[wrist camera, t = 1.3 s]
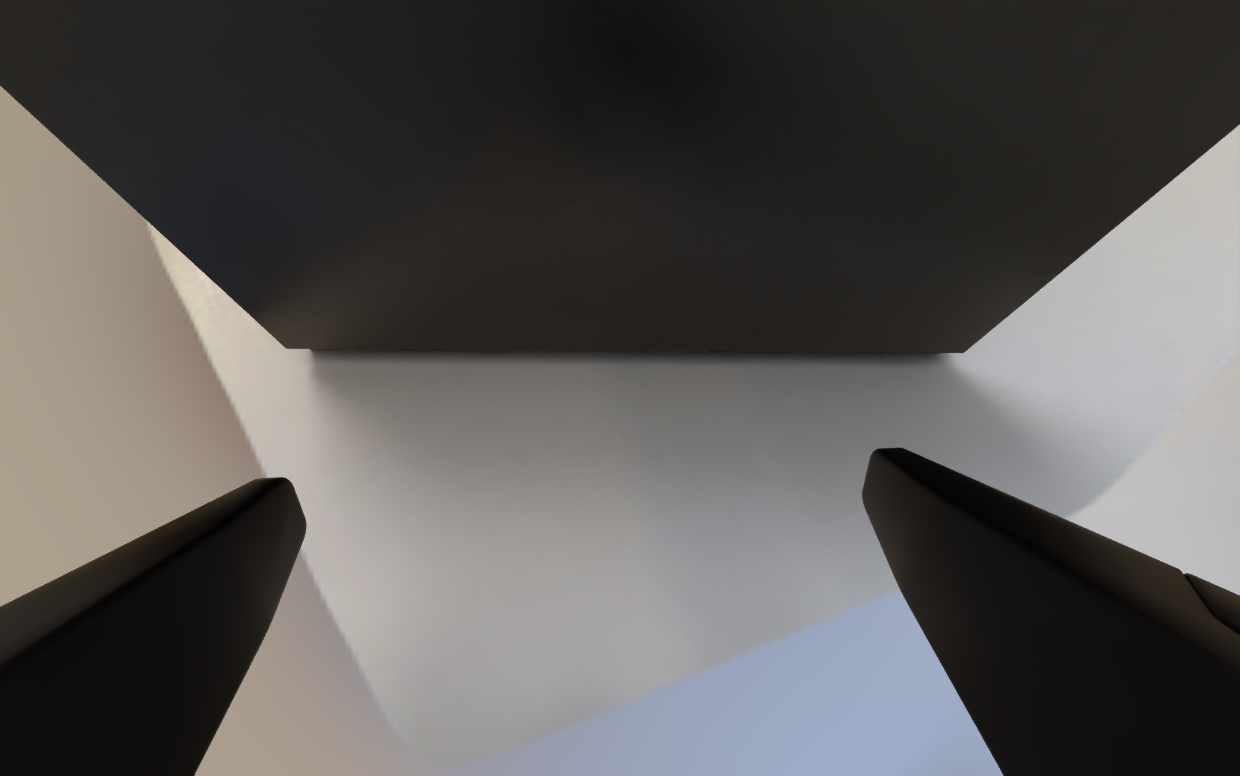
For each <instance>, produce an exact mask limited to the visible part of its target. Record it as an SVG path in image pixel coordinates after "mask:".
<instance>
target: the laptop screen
mask: <svg viewBox="0 0 1240 776" xmlns="http://www.w3.org/2000/svg"><path fill="white" fill-rule="evenodd" d="M0 86H1V87H2V88H3V89H5V90H6V91H7V92H8V93H9V94H10V95H11V96H12V97H13V98H14V99H15V100H17V101H18V102H19V103H20V104H21V105H22V106H23V107H24V108H25V109H26V110H27V111H29V112H30V113H31V114H32V115H33V116H34V117H35V118H36V119H37V120H38V121H39V122H40V123H42V124H43V125H44V126H45V127H46V128H47V129H48V130H49V131H50V132H52V133H53V134H54V135H55V136H56V137H57V138H58V139H59V140H60V141H61V142H62V143H63V144H64V145H66V146H67V147H68V148H69V149H70V150H71V151H72V152H73V153H74V154H75V155H77V157H79V158H80V159H81V160H82V161H83V162H84V163H85V164H86V165H87V166H88V167H89V168H90V169H92V170H93V171H94V172H95V173H96V174H97V175H98V176H99V177H100V178H101V179H102V180H104V181H105V182H106V183H107V184H108V185H109V186H110V187H111V188H112V189H113V190H114V191H115V192H117V193H118V194H119V195H120V196H121V197H122V198H123V199H124V200H125V201H126V202H127V203H129V204H130V205H131V206H132V207H133V208H134V209H135V210H136V211H137V212H138V213H139V214H140V215H142V216H143V217H144V218H145V219H146V220H147V221H148V222H149V223H150V224H151V225H152V226H154V227H155V228H156V229H157V230H158V231H159V232H160V233H161V234H162V235H163V236H164V237H165V238H167V239H168V240H169V241H170V242H171V243H172V244H173V245H174V246H175V247H176V248H177V249H179V250H180V251H181V252H182V253H183V254H184V255H185V256H186V257H187V258H188V259H189V260H191V261H192V262H193V263H194V264H195V265H196V266H197V267H198V268H199V269H200V270H201V271H202V272H204V273H205V274H206V275H207V276H208V277H209V278H210V279H211V280H212V281H213V282H214V283H216V284H217V285H218V286H219V287H220V288H221V289H222V290H223V291H224V292H225V293H226V294H227V295H229V296H230V297H231V298H232V299H233V300H234V301H235V302H236V303H237V304H238V305H239V306H241V307H242V308H243V309H244V310H245V311H246V312H247V313H248V314H249V315H250V316H251V317H252V318H254V319H255V320H256V321H257V322H258V323H259V324H260V325H261V326H262V327H263V328H264V329H266V330H267V331H268V332H269V333H270V334H271V335H272V336H273V337H274V338H275V339H276V340H278V341H279V342H280V343H281V344H282V345H283V346H284V347H285V348H287V349H418V350H575V351H731V352H887V353H964V352H965V351H967V350H968V349H969V348H970V347H971V346H973V345H974V344H975V343H976V342H977V341H979V340H980V339H981V338H982V337H984V336H985V335H986V334H987V333H988V332H990V331H991V330H992V329H993V328H994V327H996V326H997V325H998V324H999V323H1000V322H1002V321H1003V320H1004V319H1005V318H1006V317H1008V316H1009V315H1010V314H1011V313H1012V312H1014V311H1015V310H1016V309H1017V308H1019V307H1020V306H1021V305H1022V304H1023V303H1025V302H1026V301H1027V300H1028V299H1029V298H1031V297H1032V296H1033V295H1034V294H1035V293H1037V292H1038V291H1039V290H1040V289H1041V288H1043V287H1044V286H1045V285H1046V284H1047V283H1049V282H1050V281H1051V280H1052V279H1054V278H1055V277H1056V276H1057V275H1058V274H1060V273H1061V272H1062V271H1063V270H1064V269H1066V268H1067V267H1068V266H1069V265H1070V264H1072V263H1073V262H1074V261H1075V260H1076V259H1078V258H1079V257H1080V256H1081V255H1083V254H1084V253H1085V252H1086V251H1087V250H1089V249H1090V248H1091V247H1092V246H1093V245H1095V244H1096V243H1097V242H1098V241H1099V240H1101V239H1102V238H1103V237H1104V236H1105V235H1107V234H1108V233H1109V232H1110V231H1111V230H1113V229H1114V228H1115V227H1116V226H1118V225H1119V224H1120V223H1121V222H1122V221H1124V220H1125V219H1126V218H1127V217H1128V216H1130V215H1131V214H1132V213H1133V212H1134V211H1136V210H1137V209H1138V208H1139V207H1140V206H1142V205H1143V204H1144V203H1145V202H1146V201H1148V200H1149V199H1150V198H1151V197H1153V196H1154V195H1155V194H1156V193H1157V192H1159V191H1160V190H1161V189H1162V188H1163V187H1165V186H1166V185H1167V184H1168V183H1169V182H1171V181H1172V180H1173V179H1174V178H1175V177H1177V176H1178V175H1179V174H1180V173H1181V172H1183V171H1184V170H1185V169H1186V168H1188V167H1189V166H1190V165H1191V164H1192V163H1194V162H1195V161H1196V160H1197V159H1198V158H1200V157H1201V156H1202V155H1203V154H1204V153H1206V152H1207V151H1208V150H1209V149H1210V148H1212V147H1213V146H1214V145H1215V144H1217V143H1218V142H1219V141H1220V140H1221V139H1223V138H1224V137H1225V136H1226V135H1227V134H1229V133H1230V132H1231V131H1232V130H1233V129H1235V128H1236V127H1237V126H1238V125H1239V124H1240V0H0Z"/></svg>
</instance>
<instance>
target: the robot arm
mask: <svg viewBox="0 0 1240 776" xmlns="http://www.w3.org/2000/svg"><path fill="white" fill-rule="evenodd" d="M862 499H863V504H864V507H865V510H866V512H867V514H868V517H869V519H870V521H871V524H872V526H873V528H874V531H875V533H876V535H877V538H878V540H879V542H880V545H881V547H882V549H883V552H884V554H885V556H886V559H887V561H888V563H889V566H890V568H891V570H892V573H893V575H894V577H895V579H896V581H897V584H898V586H899V588H900V590H901V592H902V594H903V596H904V598H905V600H906V601H907V603H908V605H909V607H910V609H911V611H912V612H913V614H914V616H915V618H916V620H917V621H918V623H919V625H920V627H921V629H922V630H923V632H924V634H925V636H926V638H927V639H928V641H929V643H930V645H931V646H932V648H933V650H934V652H935V653H936V655H937V657H938V659H939V660H940V663H941V664H942V666H943V667H944V670H945V672H946V673H947V675H948V676H949V679H950V680H951V682H952V684H953V686H954V688H955V689H956V691H957V693H958V695H959V696H960V698H961V700H962V702H963V704H964V705H965V707H966V709H967V711H968V713H969V714H970V716H971V718H972V720H973V721H974V723H975V725H976V727H977V728H978V730H979V732H980V734H981V736H982V738H983V739H984V741H985V743H986V745H987V747H988V748H989V750H990V752H991V754H992V756H993V757H994V759H995V761H996V762H997V764H998V766H999V768H1000V770H1001V771H1002V773H1003V775H1004V776H1240V595H1237V594H1235V593H1233V592H1230V591H1228V590H1226V589H1223V588H1221V587H1219V586H1217V585H1214V584H1212V583H1210V582H1207V581H1205V580H1203V579H1201V578H1198V577H1196V576H1194V575H1192V574H1188V573H1186V574H1183V573H1182V572H1181V571H1180V570H1179V569H1178V568H1175V567H1173V566H1171V565H1168V564H1166V563H1164V562H1161V561H1159V560H1157V559H1155V558H1152V557H1150V556H1148V555H1146V554H1143V553H1141V552H1139V551H1136V550H1134V549H1132V548H1130V547H1127V546H1125V545H1123V544H1120V543H1118V542H1116V541H1114V540H1111V539H1109V538H1106V537H1104V536H1102V535H1100V534H1098V533H1095V532H1093V531H1090V530H1088V529H1086V528H1084V527H1081V526H1079V525H1077V524H1075V523H1073V522H1070V521H1068V520H1066V519H1063V518H1061V517H1059V516H1057V515H1054V514H1052V513H1050V512H1047V511H1045V510H1043V509H1041V508H1038V507H1036V506H1034V505H1031V504H1029V503H1027V502H1025V501H1022V500H1020V499H1018V498H1015V497H1013V496H1011V495H1009V494H1006V493H1004V492H1002V491H999V490H997V489H995V488H993V487H990V486H988V485H986V484H984V483H981V482H979V481H977V480H974V479H972V478H970V477H968V476H965V475H963V474H961V473H958V472H956V471H954V470H952V469H949V468H947V467H945V466H942V465H940V464H938V463H936V462H933V461H931V460H929V459H926V458H924V457H922V456H920V455H917V454H915V453H913V452H911V451H908V450H906V449H903V448H882V449H877V450H875V451H874V452H873V453H872V454H871V457H870V460H869V464H868V469H867V473H866V477H865V482H864V486H863V491H862ZM305 533H306V519H305V516H304V513H303V511H302V508H301V505H300V503H299V500H298V497H297V494H296V492H295V489H294V486H293V484H292V483H291V482H290V480H288V479H286V478H283V477H279V478H260V479H256V480H253V481H251V482H249V483H247V484H245V485H243V486H241V487H239V488H237V489H235V490H233V491H231V492H229V493H227V494H225V495H223V496H221V497H219V498H217V499H215V500H213V501H211V502H209V503H207V504H205V505H203V506H201V507H199V508H197V509H195V510H193V511H191V512H189V513H187V514H185V515H183V516H181V517H179V518H177V519H175V520H173V521H171V522H169V523H167V524H165V525H163V526H161V527H159V528H158V529H155V530H153V531H151V532H149V533H147V534H145V535H143V536H141V537H139V538H137V539H135V540H133V541H131V542H129V543H127V544H125V545H123V546H121V547H119V548H117V549H115V550H113V551H111V552H109V553H107V554H105V555H103V556H101V557H99V558H97V559H95V560H93V561H91V562H89V563H87V564H85V565H83V566H81V567H79V568H77V569H75V570H73V571H71V572H69V573H67V574H65V575H63V576H61V577H59V578H57V579H55V580H53V581H51V582H49V583H47V584H45V585H43V586H41V587H39V588H37V589H35V590H33V591H31V592H29V593H27V594H25V595H23V596H21V597H19V598H17V599H15V600H13V601H11V602H9V603H7V604H5V605H3V606H1V607H0V776H194V775H195V773H196V771H197V769H198V767H199V765H200V763H201V761H202V759H203V757H204V755H205V753H206V751H207V749H208V747H209V745H210V743H211V742H212V740H213V738H214V736H215V734H216V731H217V730H218V728H219V726H220V724H221V722H222V720H223V718H224V716H225V714H226V712H227V710H228V708H229V706H230V704H231V702H232V700H233V698H234V696H235V694H236V693H237V691H238V689H239V687H240V685H241V683H242V681H243V679H244V677H245V675H246V673H247V671H248V669H249V667H250V665H251V663H252V661H253V659H254V657H255V655H256V653H257V651H258V649H259V647H260V645H261V643H262V641H263V639H264V637H265V635H266V633H267V631H268V629H269V626H270V624H271V622H272V619H273V617H274V615H275V612H276V609H277V607H278V604H279V602H280V599H281V597H282V594H283V591H284V589H285V586H286V584H287V581H288V578H289V576H290V573H291V571H292V568H293V565H294V563H295V560H296V558H297V555H298V552H299V550H300V547H301V545H302V542H303V540H304V537H305Z"/></svg>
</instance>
